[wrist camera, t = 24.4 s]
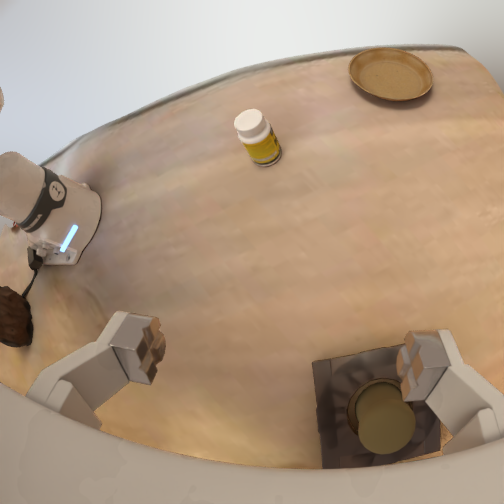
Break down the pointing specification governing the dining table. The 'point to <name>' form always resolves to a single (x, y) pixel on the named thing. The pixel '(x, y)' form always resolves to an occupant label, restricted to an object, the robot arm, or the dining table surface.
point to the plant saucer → (390, 74)
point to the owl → (14, 319)
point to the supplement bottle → (257, 137)
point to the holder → (336, 416)
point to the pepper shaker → (384, 418)
